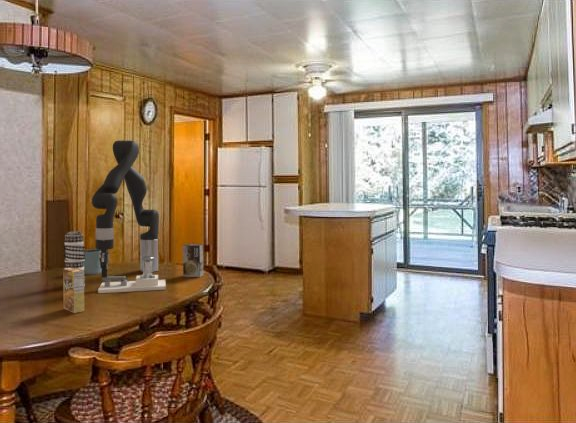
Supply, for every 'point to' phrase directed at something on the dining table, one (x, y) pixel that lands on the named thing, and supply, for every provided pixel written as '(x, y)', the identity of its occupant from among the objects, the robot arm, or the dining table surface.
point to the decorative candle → (74, 250)
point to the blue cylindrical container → (92, 261)
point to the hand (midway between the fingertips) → (104, 276)
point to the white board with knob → (133, 285)
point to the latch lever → (114, 278)
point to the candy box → (73, 289)
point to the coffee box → (193, 260)
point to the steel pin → (147, 267)
